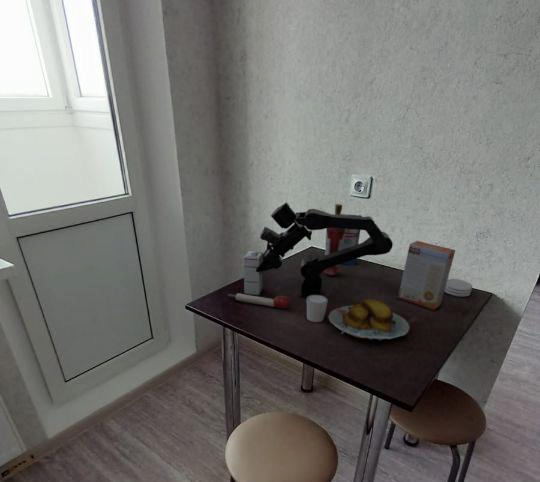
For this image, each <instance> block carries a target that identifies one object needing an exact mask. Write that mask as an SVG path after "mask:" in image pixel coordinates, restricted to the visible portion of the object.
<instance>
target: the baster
mask: <svg viewBox="0 0 540 482" xmlns="http://www.w3.org/2000/svg"><path fill="white" fill-rule="evenodd" d="M228 298H232V299H235V301H238V302H243V303H247V304H254V305H260V306H266V307H271V308H277V309H281V310H287V309H288V308H289V307H290V304H291V301H290V299H289V298H288V297H287V296H282V295H277V296H275V297H274V298H268V297H262V296H258V295H251V294H245V293H239V292H237V293H236V294H233V293H229V294H228Z"/></svg>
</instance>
